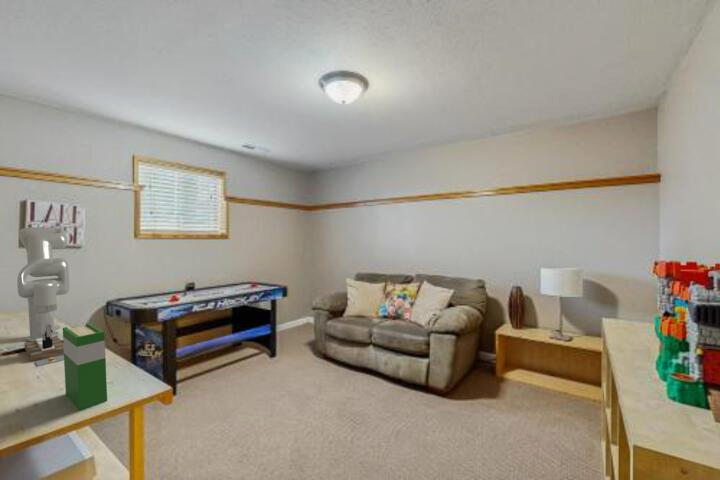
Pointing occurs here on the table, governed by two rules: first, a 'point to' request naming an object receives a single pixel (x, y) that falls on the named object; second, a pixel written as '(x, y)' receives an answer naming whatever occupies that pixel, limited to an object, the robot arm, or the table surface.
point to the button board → (37, 354)
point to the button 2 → (47, 348)
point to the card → (49, 360)
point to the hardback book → (85, 365)
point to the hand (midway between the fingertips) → (47, 347)
